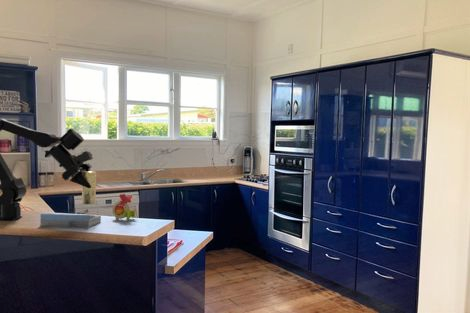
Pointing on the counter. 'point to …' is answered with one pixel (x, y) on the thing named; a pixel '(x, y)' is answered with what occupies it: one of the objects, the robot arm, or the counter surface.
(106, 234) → the counter surface
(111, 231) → the counter surface
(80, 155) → the robot arm
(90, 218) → the jig
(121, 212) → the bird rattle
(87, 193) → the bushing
